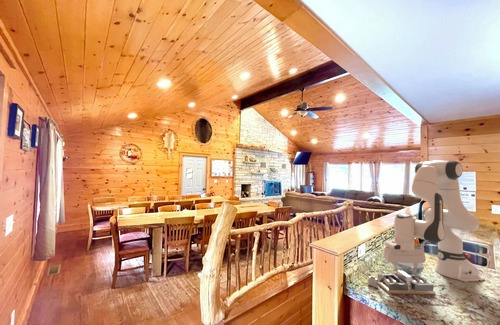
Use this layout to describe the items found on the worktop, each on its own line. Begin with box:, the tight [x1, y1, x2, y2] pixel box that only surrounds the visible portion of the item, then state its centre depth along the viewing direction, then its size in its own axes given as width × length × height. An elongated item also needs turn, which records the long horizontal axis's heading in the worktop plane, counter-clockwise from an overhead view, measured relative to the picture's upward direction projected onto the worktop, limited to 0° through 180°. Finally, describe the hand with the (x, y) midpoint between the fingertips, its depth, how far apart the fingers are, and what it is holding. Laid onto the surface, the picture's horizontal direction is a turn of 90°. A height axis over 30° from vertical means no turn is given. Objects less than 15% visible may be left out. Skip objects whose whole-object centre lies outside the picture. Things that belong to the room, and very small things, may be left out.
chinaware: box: [395, 263, 425, 276], centre depth 129 cm, size 15×15×8 cm
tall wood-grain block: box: [396, 269, 412, 289], centre depth 114 cm, size 3×7×6 cm, turn 179°
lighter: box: [368, 272, 384, 289], centre depth 114 cm, size 7×2×8 cm, turn 45°
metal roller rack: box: [377, 273, 437, 295], centre depth 114 cm, size 24×11×4 cm, turn 89°
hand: (404, 270), depth 114 cm, fingers open, 8 cm apart
